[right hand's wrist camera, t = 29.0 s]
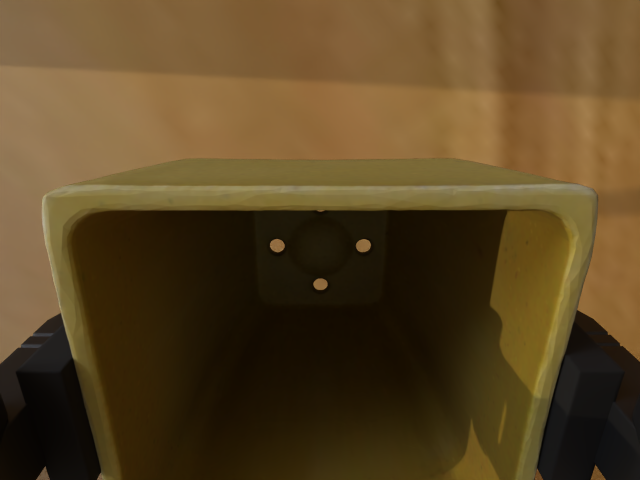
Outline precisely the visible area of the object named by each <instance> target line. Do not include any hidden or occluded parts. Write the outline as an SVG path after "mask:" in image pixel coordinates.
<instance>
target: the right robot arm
mask: <svg viewBox="0 0 640 480" xmlns="http://www.w3.org/2000/svg"><path fill="white" fill-rule="evenodd" d="M595 464H596V466H597V467H598V469H599V470H600V472H601V473H602V475H603V476H604V477H605V479H606V480H640V362H639V361H638V360H637V359H636V358H635V357H634V356H633V355H632V354H631V353H630V352H629V351H627V350H626V349H625V348H624V347H623V346H620V343H619V342H618V341H617V340H616V339H614V338H613V337H612V336H611V335H608V332H607V331H606V330H605V329H604V328H603V327H601V326H600V325H599V324H598V323H597V322H596V321H595V320H594V319H592V318H591V317H589V316H587V315H585V314H583V313H581V312H580V311H578V310H577V311H576V315H575V319H574V323H573V325H572V330H571V334H570V337H569V341H568V344H567V348H566V351H565V354H564V357H563V360H562V363H561V367H560V371H559V375H558V379H557V382H556V385H555V389H554V393H553V397H552V401H551V405H550V409H549V412H548V417H547V421H546V426H545V430H544V435H543V440H542V445H541V450H540V455H539V461H538V465H537V469H538V470H539V472H540V474H541V476H542V478H543V480H590V479H591V476H592V473H593V470H594V467H595ZM45 466H46V469H47V472H48V475H49V478H50V480H97V478H98V476H99V475H100V473H101V469H100V464H99V460H98V456H97V452H96V447H95V443H94V439H93V435H92V431H91V428H90V424H89V420H88V416H87V412H86V409H85V406H84V402H83V397H82V393H81V388H80V384H79V380H78V376H77V372H76V368H75V364H74V360H73V357H72V353H71V348H70V344H69V341H68V337H67V334H66V331H65V327H64V323H63V319H62V315H61V313H60V314H58V315H56V316H55V317H53V318H51V319H49V320H47V321H46V322H45V323H44V324H43V325H42V326H41V327H40V328H39V329H38V330H37V331H36V332H34V333H33V336H30V337H29V338H28V339H27V340H26V341H25V342H24V343H23V344H22V345H21V348H17V349H16V350H15V351H14V352H13V353H12V354H11V355H10V356H9V357H8V358H7V359H5V360H4V361H3V362H2V363H1V364H0V480H36V479H37V477H38V476H39V474H40V473H41V472H42V470H43V469H44V467H45Z"/></svg>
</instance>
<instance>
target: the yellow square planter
mask: <svg viewBox="0 0 640 480" xmlns="http://www.w3.org/2000/svg"><path fill="white" fill-rule="evenodd" d="M317 210H325V211H322V212H319V211H317ZM597 212H598V195H597V193H596V192H595V191H594V189H592V188H589V187H586V186H583V185H580V184H575V183H569V182H564V181H558V180H554V179H550V178H545V177H541V176H537V175H532V174H528V173H524V172H519V171H515V170H510V169H505V168H501V167H496V166H491V165H486V164H481V163H477V162H472V161H466V160H460V159H447V158H431V159H366V160H261V159H208V158H196V159H183V160H177V161H172V162H167V163H163V164H158V165H154V166H149V167H144V168H140V169H135V170H131V171H126V172H122V173H118V174H113V175H109V176H105V177H101V178H97V179H93V180H89V181H84V182H80V183H75V184H71V185H67V186H63V187H59V188H57V189H54V190H52V191H50V192H47V194H46V195H45V196H44V197H43V202H42V224H43V232H44V239H45V245H46V249H47V252H48V256H49V260H50V265H51V269H52V276H53V281H54V285H55V288H56V292H57V297H58V302H59V307H60V311H61V315H62V319H63V323H64V327H65V331H66V334H67V337H68V341H69V344H70V348H71V353H72V357H73V360H74V364H75V368H76V372H77V376H78V380H79V384H80V388H81V393H82V397H83V402H84V406H85V409H86V412H87V416H88V420H89V424H90V428H91V431H92V435H93V439H94V443H95V447H96V452H97V456H98V460H99V464H100V469H101V475H102V478H103V480H534V479H535V474H536V471H537V465H538V461H539V455H540V450H541V445H542V440H543V435H544V430H545V426H546V421H547V417H548V412H549V409H550V405H551V401H552V397H553V393H554V389H555V385H556V382H557V379H558V375H559V371H560V367H561V363H562V360H563V357H564V354H565V351H566V348H567V344H568V341H569V337H570V334H571V330H572V325H573V323H574V319H575V315H576V311H577V308H578V304H579V299H580V296H581V292H582V288H583V284H584V281H585V277H586V274H587V272H588V268H589V264H590V261H591V257H592V252H593V246H594V240H595V233H596V225H597ZM274 239H280V240H282V241H283V242H284V244H285V248H284V250H282V251H281V252H274V251H273V250H272V249H271V248H270V243H271V241H272V240H274ZM361 239H367V240H369V241H370V243H371V248H370V249H369V250H368V251H367V252H359V251H358V250H357V249H356V243H357V242H358V241H359V240H361ZM318 278H323V279H325V280H326V281H327V282H328V286H327V288H326V289H324V290H317V289H315V288H314V286H313V282H314V281H315V280H316V279H318Z"/></svg>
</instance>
